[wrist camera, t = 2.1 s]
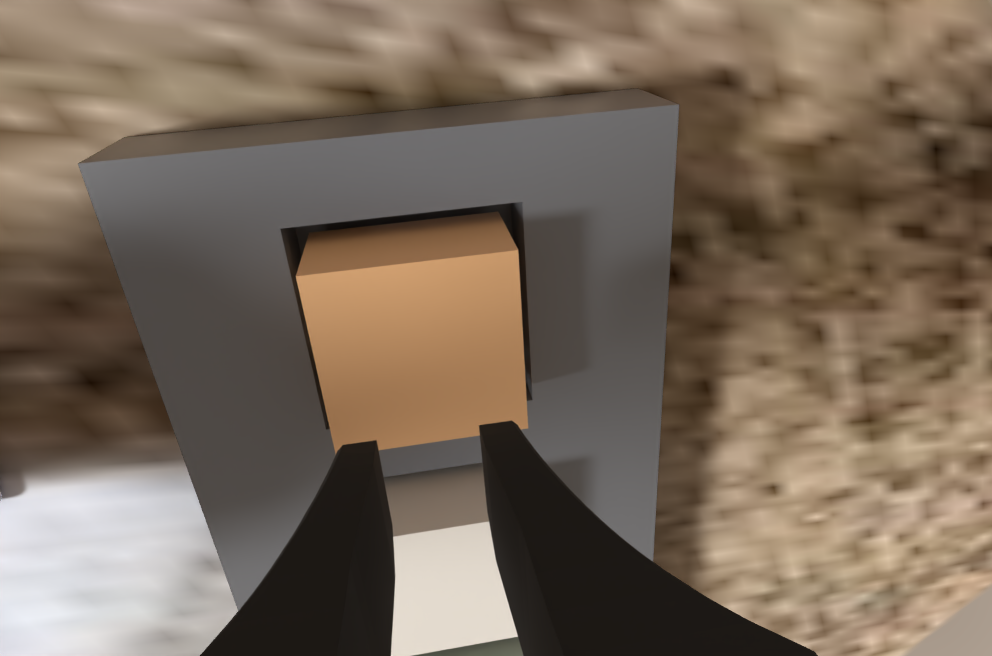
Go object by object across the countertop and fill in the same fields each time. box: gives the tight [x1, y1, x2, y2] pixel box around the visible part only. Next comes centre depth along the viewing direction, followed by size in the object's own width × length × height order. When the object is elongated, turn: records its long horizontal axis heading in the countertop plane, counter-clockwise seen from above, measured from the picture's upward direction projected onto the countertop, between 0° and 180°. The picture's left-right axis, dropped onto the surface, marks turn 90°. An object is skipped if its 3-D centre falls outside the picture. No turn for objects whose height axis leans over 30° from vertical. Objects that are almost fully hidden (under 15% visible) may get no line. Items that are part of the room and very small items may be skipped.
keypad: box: [78, 88, 679, 611], centre depth 23 cm, size 14×26×3 cm, turn 4°
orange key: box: [296, 212, 528, 453], centre depth 17 cm, size 5×5×3 cm
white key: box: [384, 463, 518, 656], centre depth 21 cm, size 5×5×3 cm
